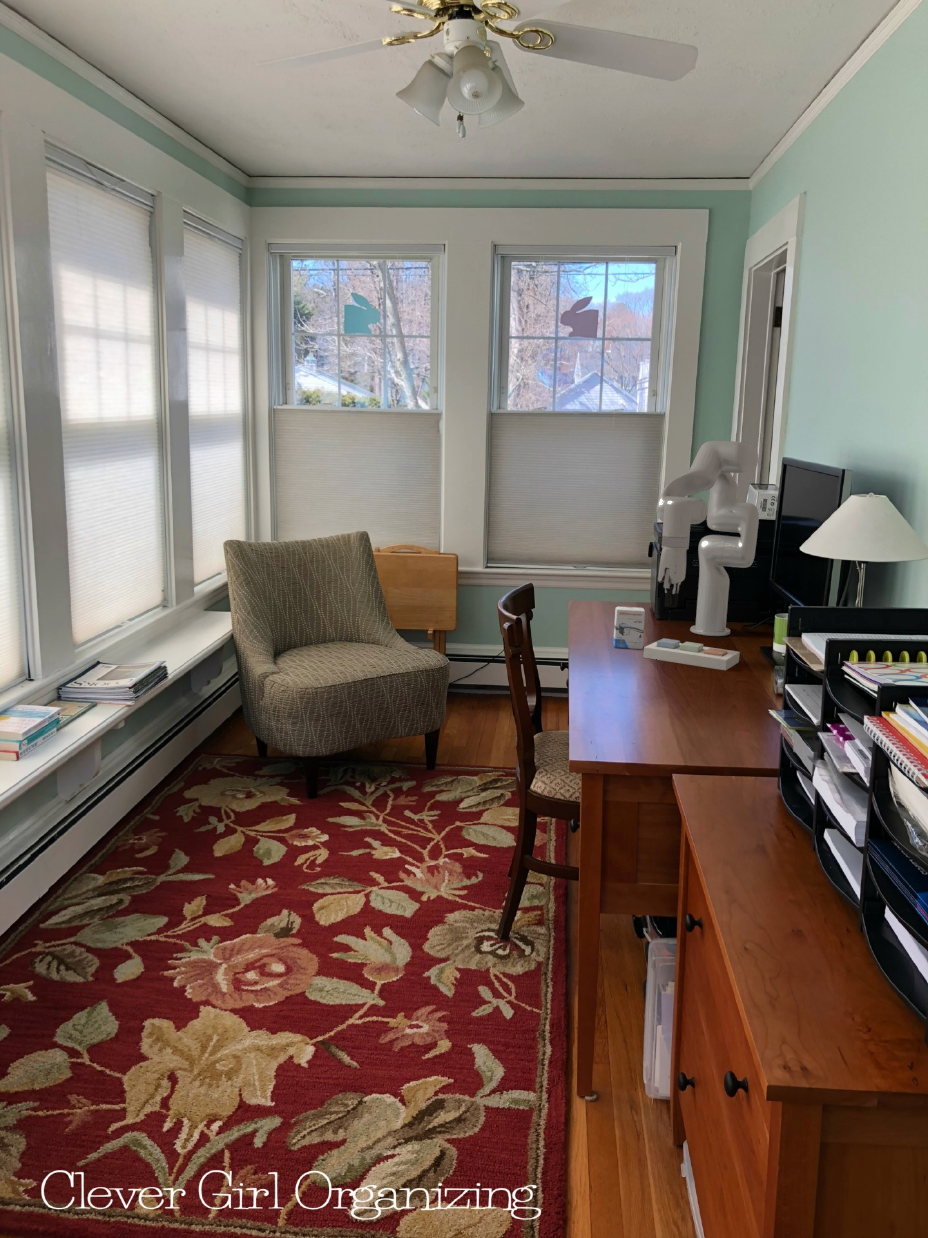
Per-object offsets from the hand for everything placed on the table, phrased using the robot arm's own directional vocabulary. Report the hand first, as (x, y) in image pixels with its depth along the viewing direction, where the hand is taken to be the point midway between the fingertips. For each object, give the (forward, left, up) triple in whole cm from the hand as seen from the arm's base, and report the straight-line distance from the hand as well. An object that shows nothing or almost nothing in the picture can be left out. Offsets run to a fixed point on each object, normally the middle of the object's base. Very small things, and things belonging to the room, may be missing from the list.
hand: (670, 606), depth 277 cm
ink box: (-4, -14, -15) cm, 21 cm away
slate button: (0, 0, -13) cm, 13 cm away
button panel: (0, +7, -15) cm, 16 cm away
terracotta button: (0, +14, -14) cm, 20 cm away
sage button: (0, +7, -13) cm, 15 cm away
